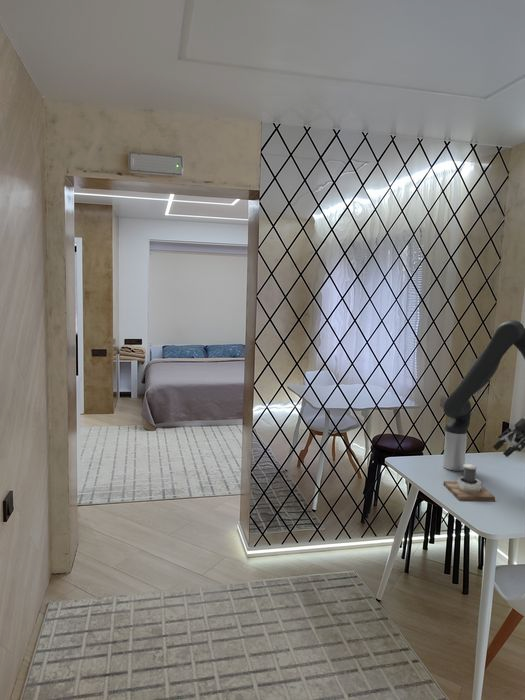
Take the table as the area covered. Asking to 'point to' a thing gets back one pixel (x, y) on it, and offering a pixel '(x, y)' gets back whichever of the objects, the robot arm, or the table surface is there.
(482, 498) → the mount board
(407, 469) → the table surface
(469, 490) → the faceted white ring
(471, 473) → the white capped grey cylinder
